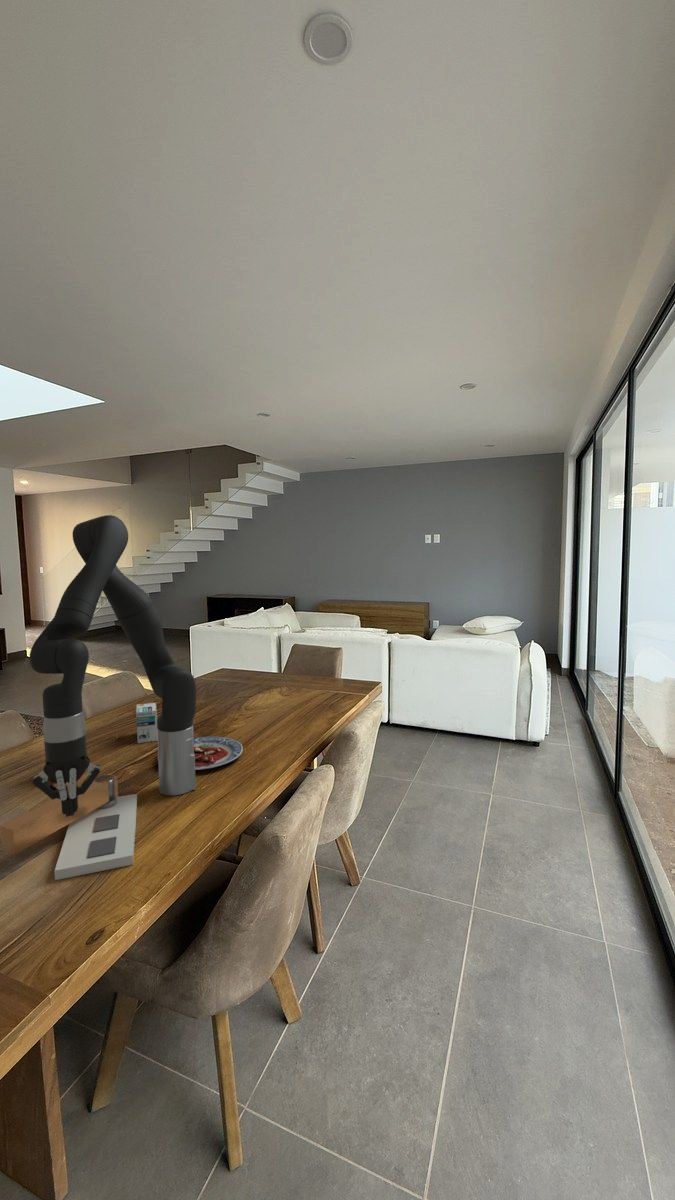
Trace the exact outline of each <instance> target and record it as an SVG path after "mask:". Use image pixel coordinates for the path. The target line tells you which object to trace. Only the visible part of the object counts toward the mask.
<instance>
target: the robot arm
mask: <svg viewBox="0 0 675 1200" xmlns="http://www.w3.org/2000/svg"><path fill="white" fill-rule="evenodd" d="M72 540H73V544H74V547H75V549H76V551H77V553H78V554H79V556H80V557H81V559H82V561H83V562H84V566H83V567H82V568H81V569H80V571H79V572H78V573H77V574H76V576H75V577H74V578H73V579H71V581H70V582H69V584H68V586H67V587H66V589H65V590H64V592H63V594H62V596H61V598H60V600H59V603H58V605H57V608H56V611H55V614H54V617H53V618H52V619H51V621H49V623H48V624H47V625H46V627H45V628H44V629H43V630H42V632H41V633H40V635H38V637H37V638H36V640H35V641H34V642H33V645H32V646H31V649H30V651H29V664H30V666H31V668H32V670H33V671H34V672H36V673H39V674H42V675H43V674H45V675H46V674H47V675H49V674H53V675H58V674H63V676H62V680H61V682H60V683H56V684H51V685H49V686H47V687H46V688H44V690H43V691H42V706H43V724H42V725H43V726H42V727H43V728H42V730H43V733H42V736H43V744H44V756H45V763H44V766H43V768H42V770H41V772H40V773H37V774H35V775H34V777H33V780H32V784H33V785H34V786H35V787H37V788H38V789H39V790H40V791H41V792H42V793H44V794H45V795H46V796H47V797H49V798H50V799H51V800H54V799H56V798H57V799H60V800H61V803H62V813H63V814H66V817H67V816H73V815H74V813H75V812H77V809H78V796H79V795H81V794H84V793H85V792H86V791H87V789H88V788H89V787H90V785H91V784H92V782H93V781H94V780H95V779H96V778H98V777H99V775H100V774H101V769H102V768H101V767H102V766H101V764H94V763H92V762H91V759H90V758H89V756H88V753H87V752H88V751H87V735H86V733H87V732H86V723H85V716H84V710H83V696H82V691H83V685H84V681H85V677H86V672H87V668H88V664H89V659H90V658H89V657H90V656H89V655H90V654H89V649H88V647H87V645H86V644H85V643H84V642H83V641H82V640H80V639H76V638H74V637H77V636H81V635H83V634H86V633H87V632H88V630H89V629H90V626H91V624H92V621H93V617H94V615H95V612H96V608H97V606H98V602H99V600H100V597H101V595H102V593H103V594H104V595H105V597H106V599H107V601H108V603H109V605H110V607H111V608H112V610H113V612H114V614H115V617H116V618H117V621H118V622H119V625H120V627H121V629H122V630H123V632H124V634H125V636H126V637H127V639H128V641H129V643H130V644H131V646H132V648H133V649H134V651H135V652H136V654H137V656H138V658H139V659H140V661H141V663H142V666H143V668H144V671H145V673H146V676H147V680H148V681H149V684H150V686H151V688H152V689H151V690H152V691H153V692H154V694H155V695H156V696H157V697H158V698H160V699H161V703H162V704H161V714H160V715H159V716H157V734H158V741H157V762H158V787H159V788H158V790H159V793H160V794H162V795H165V796H179V795H184V794H187V793H189V792H191V791H194V790H196V788H197V786H196V784H197V783H196V770H195V755H194V738H195V737H194V718H195V716H196V709H197V685H196V680H195V677H194V675H193V674H192V673H191V672H190V671H188V670H186V669H184V668H181V667H179V666H178V665H177V664H176V662H175V661H174V659H173V658H172V655H171V654H170V652H169V650H168V648H167V646H166V643H165V637H164V631H163V630H164V629H163V624H162V620H161V617H160V615H159V613H158V611H157V608H156V606H155V604H154V602H153V601H152V599H151V597H150V596H149V594H148V593H146V591H144V590H143V589H142V588H141V587H140V586H139V585H137V584H136V583H135V582H134V581H133V580H131V579H130V578H128V577H127V576H126V575H125V574H124V573H123V572H122V571H121V569H119V567H118V566H117V564H118V562H119V560H120V559H121V557H122V555H123V554H124V551H125V549H126V548H127V545H128V542H129V531H128V528H127V525H126V524H125V523H124V522H123V520H122V519H121V518H119V517H118V516H115V515H112V514H107V515H101V516H98V517H94V518H91V519H89V520H85V521H83V522H79V523H77V524H76V525H75V526H74V528H73V529H72ZM86 771H87V776H86V778H85V779H84V780H83V782H82V784H80V786H79V785H78V783H79V780H80V779H81V778H82V777H83V775H84V773H86ZM48 779H51V780H52V781H53V782H54V783H55V784H57V787H56V786H55V785H54V784H53V783H51V782H50V781H49V780H48ZM68 784H69V787H68ZM69 792H70V795H69Z"/></svg>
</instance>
